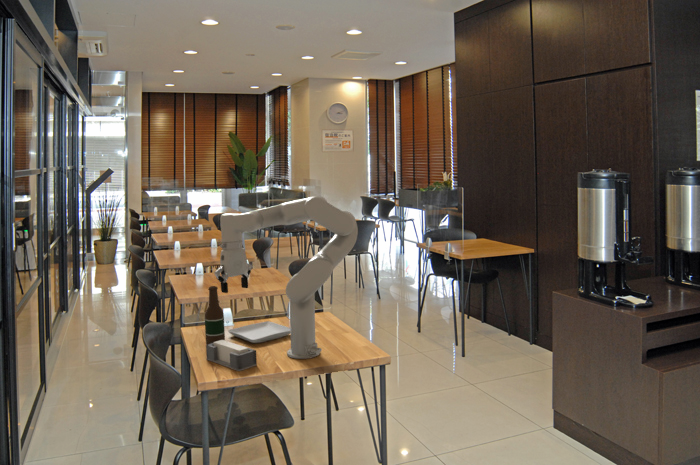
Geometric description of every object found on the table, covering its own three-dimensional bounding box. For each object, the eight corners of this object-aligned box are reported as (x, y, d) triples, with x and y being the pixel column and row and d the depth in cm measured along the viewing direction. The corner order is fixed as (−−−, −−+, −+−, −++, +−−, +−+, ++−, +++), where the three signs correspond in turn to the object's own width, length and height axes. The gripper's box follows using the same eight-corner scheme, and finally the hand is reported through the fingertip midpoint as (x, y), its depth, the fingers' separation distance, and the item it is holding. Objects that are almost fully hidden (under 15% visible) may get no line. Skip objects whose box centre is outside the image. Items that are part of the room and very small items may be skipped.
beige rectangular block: (248, 363, 202) (248, 347, 201) (240, 366, 199) (239, 350, 198) (223, 354, 213) (222, 339, 212) (214, 357, 210) (213, 342, 209)
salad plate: (226, 337, 240) (226, 329, 239) (268, 327, 254) (268, 320, 253) (253, 347, 224) (252, 339, 224) (295, 336, 238) (295, 329, 238)
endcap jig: (256, 365, 202) (256, 350, 201) (238, 371, 196) (238, 355, 196) (224, 354, 215) (223, 340, 215) (206, 359, 209) (205, 345, 209)
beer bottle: (207, 347, 224) (204, 289, 221) (204, 342, 231) (201, 285, 228) (226, 345, 227) (224, 287, 224) (223, 340, 234) (220, 284, 231)
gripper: (219, 249, 201) (222, 295, 203) (256, 243, 214) (258, 287, 216) (207, 248, 206) (210, 293, 208) (243, 242, 219) (246, 285, 221)
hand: (235, 290), depth 212 cm, fingers open, 9 cm apart
